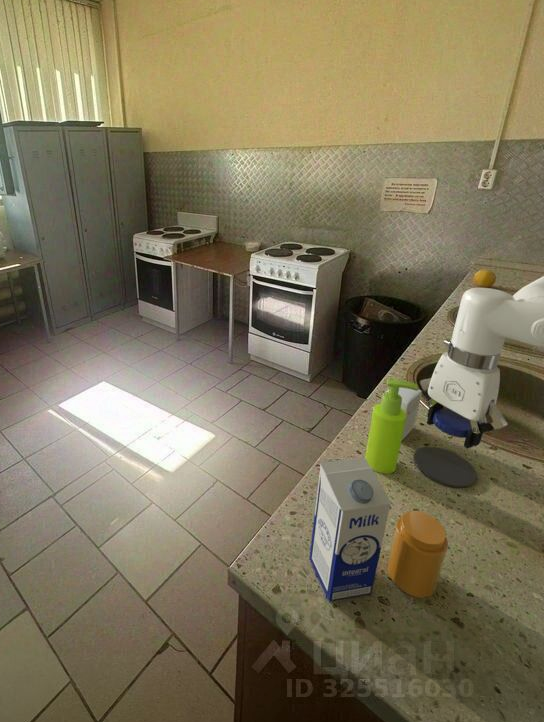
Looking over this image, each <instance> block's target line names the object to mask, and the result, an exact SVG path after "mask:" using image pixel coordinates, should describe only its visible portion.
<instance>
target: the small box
mask: <svg viewBox="0 0 544 722" xmlns="http://www.w3.org/2000/svg"><path fill="white" fill-rule="evenodd" d="M385 392H389V388H388V389H387V390H386V391H385ZM398 394H399V395H400V396H401V397H402V403H401V409H403V410H404V411H405V413H406V421H405V426H404V430H403V435H402V440H401V442H403V440H405V438H406V437H407V435H409V434H410V432H411V431H412V430H413V429H414V428H415V425H416V421H417V416H418V412H419V408H420V404H421V398H422V395H423V390H421V389H419V390H417V391H415V390H412V389H407V388H399V392H398ZM382 398H383V394H382V395H381V399H382ZM380 403H382V400H381V402H380Z"/></svg>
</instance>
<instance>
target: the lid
mask: <svg viewBox="0 0 544 722" xmlns="http://www.w3.org/2000/svg"><path fill="white" fill-rule="evenodd" d="M433 422H434V424H433V425H434V426H435V427H436V428H437V429H438V430H439V431H441V432H443V433H444V434H447V435H449V436H451V437H456V438H460V439H461V438H464V439H466V435H467V432H468V430H470V429H472V427H471V423H470V420H469V419H467V418H465V417H463V416H461V415H459V414H458V413H456V412H454V411H452V410H450V409H449V408H447V407H444V408H442V409H438V410H436V411H435V414H434V417H433Z"/></svg>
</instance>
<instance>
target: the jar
mask: <svg viewBox="0 0 544 722" xmlns="http://www.w3.org/2000/svg"><path fill="white" fill-rule="evenodd" d="M448 548H449V541H448V538H447V534H446V530H445V528H444V527H443V525H442V524H441V522H439V520H437V519H436V518H435V517H433V516H432V515H430V514H428V513H426V512H423V511H419V510H409V511H406V512H404V513H403V514H402V515H401V516H400V517H399V518H398V519H397V521H396V524H395V529H394V534H393V537H392V542H391V546H390V550H389V556H388V560H387V564H386V565H387V567H386V568H387V569H386V570H387V573H388V576H389V577H390V579H391V581H392V583H394V584H395V585H396V586H397V588H399V589H400V591H402V592H404V593H406V594H408V595H410V596H413V597H415V598H421V599H423V598H428V597H431V596H432V595H433V594H434V593H435V592H436V588H437V586H438V582H439V579H440V575H441V572H442V569H443V566H444V562H445V558H446V555H447V552H448Z"/></svg>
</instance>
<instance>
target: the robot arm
mask: <svg viewBox="0 0 544 722" xmlns="http://www.w3.org/2000/svg"><path fill="white" fill-rule="evenodd" d="M506 339H509V340H513V341H516V342H518V343H522V344H525V345H528V346H533V347H536V348H542V349H544V275H543V276H541V277H539V278H537V279H535V280H533V281H532V282H530V283H528V284H527V285H525V286H523V287H522V288H520V289H519V290H517V292H515V293H514V294H513V295H512V294H510V293H508V292H506V291H503V290H500V289H496V288H491V287H472V288H469V289H467V290H466V291H464V293H463V294H462V296H461V299H460V303H459V307H458V311H457V315H456V319H455V323H454V328H453V332H452V335H451V338H449V337H446V338H445V339H444V341H443V344H444V345H445V346H447V347H448V348H447V351H445V352H443V353H442V355H441V356H440V358H439V359H438V360H437V363H436V366H435V368H434V370H433V373H432V375H431V377H429V378H425V379H421V380H419V384H420V386H421V389H422V391H423V395H424V396H425V398H426V401H427V403H426V404H427V406H428V407H429V408H428V411H427V415H426V417H427V421H426V424H427V425H429V426H433V425H434V422H433V417H434V414H435V411H436V410H438V409H442V408H449V409H450V410H452V411H454V412H456V413H458V414H459V415H461V416H463V417H465V418H467V419H469V420H470V423H471V427H472V429H470V430H468V432H467V435H466V438H464V442H463V447H464V448H465V449H467V450H468V449H471V448H473V447H477V446H479V445H480V443H481V441H482V438H483V435H484V433H487V432H491V431H495V430H500V429H503V428H505V427H507V426H508V425H509V424H508V422H507V420H506V419H505V417H504V415H503V414H502V412H501V411H500V410H499V408H498V407H497V406H496V405H497V400H498V397H499V390H500V384H501V383H500V382H501V369H500V368H499V367H498V364H499V361H500V358H501V355H502V351H503V348H504V345H505V341H506ZM486 416H487V417H488V416H489V417H490V418H491V420H492V421H489V422H488V421H487V418H486Z"/></svg>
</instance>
